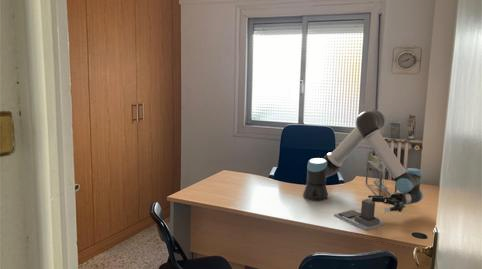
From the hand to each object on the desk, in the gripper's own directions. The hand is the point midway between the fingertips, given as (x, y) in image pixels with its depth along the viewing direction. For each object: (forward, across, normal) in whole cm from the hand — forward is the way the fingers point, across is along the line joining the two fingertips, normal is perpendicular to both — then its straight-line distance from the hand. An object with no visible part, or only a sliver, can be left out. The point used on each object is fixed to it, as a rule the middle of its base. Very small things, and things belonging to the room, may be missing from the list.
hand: (373, 205), depth 189 cm
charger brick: (+4, 0, -8) cm, 9 cm away
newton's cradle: (-46, +33, -9) cm, 58 cm away
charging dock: (+4, +6, -9) cm, 12 cm away
